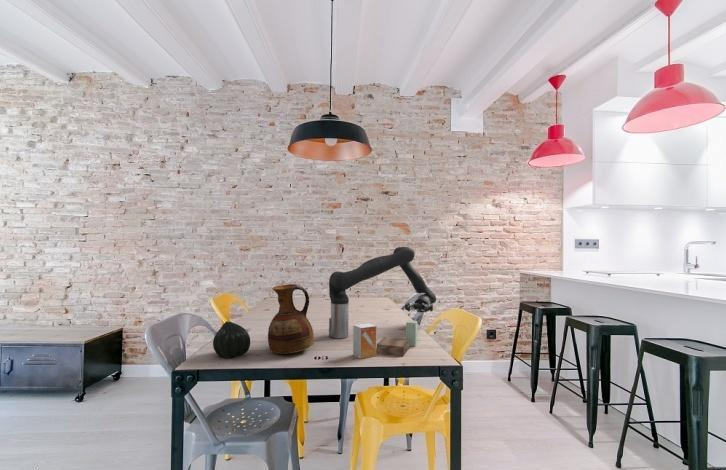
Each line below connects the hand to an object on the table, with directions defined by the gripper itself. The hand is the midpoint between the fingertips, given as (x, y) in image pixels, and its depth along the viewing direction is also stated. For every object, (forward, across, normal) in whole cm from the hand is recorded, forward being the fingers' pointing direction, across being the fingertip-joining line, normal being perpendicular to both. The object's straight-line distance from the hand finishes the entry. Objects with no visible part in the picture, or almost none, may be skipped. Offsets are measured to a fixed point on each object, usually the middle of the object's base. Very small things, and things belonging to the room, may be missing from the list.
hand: (416, 309), depth 186 cm
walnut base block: (+24, -6, +14) cm, 29 cm away
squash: (+54, -70, +13) cm, 90 cm away
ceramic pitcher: (+40, -49, +14) cm, 65 cm away
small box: (+35, -16, +14) cm, 41 cm away
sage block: (+12, 0, +14) cm, 19 cm away
